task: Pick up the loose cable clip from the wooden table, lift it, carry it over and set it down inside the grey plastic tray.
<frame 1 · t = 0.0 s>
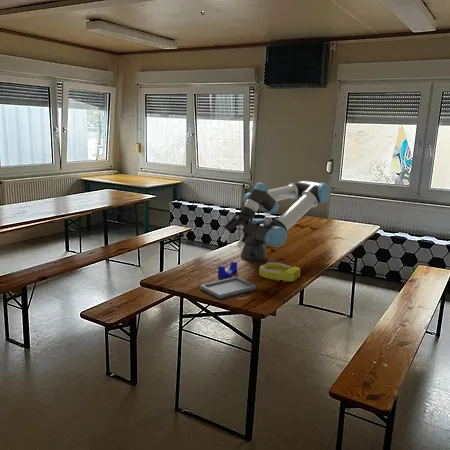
hand: (230, 244, 237), 15 cm above the table, tool tilted 35°, fingers open, 13 cm apart
cable clip: (228, 275, 236), on the table
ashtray: (278, 276, 238), on the table
tray: (228, 289, 216), on the table
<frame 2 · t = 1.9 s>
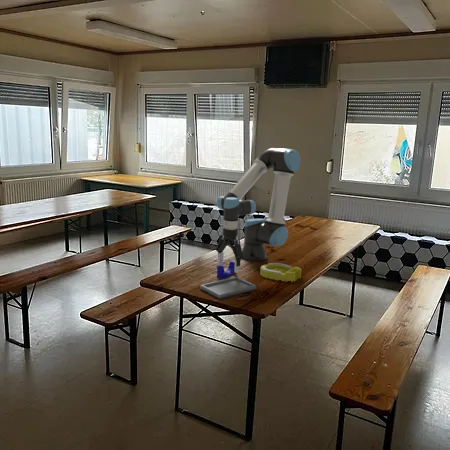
hand: (228, 268, 234), 4 cm above the table, tool pointing down, fingers open, 13 cm apart
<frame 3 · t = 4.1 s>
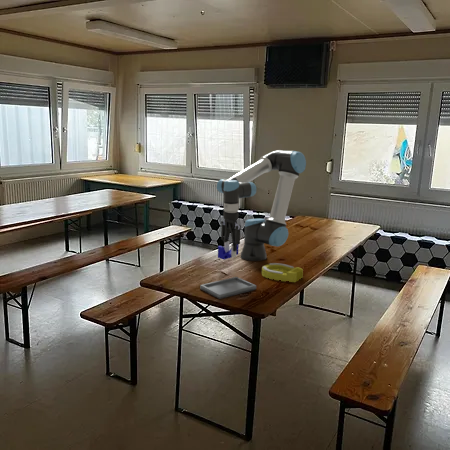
hand: (230, 255, 234), 10 cm above the table, tool pointing down, fingers closed on cable clip, 5 cm apart
cable clip: (229, 256, 233), point 10 cm above the table, touching gripper
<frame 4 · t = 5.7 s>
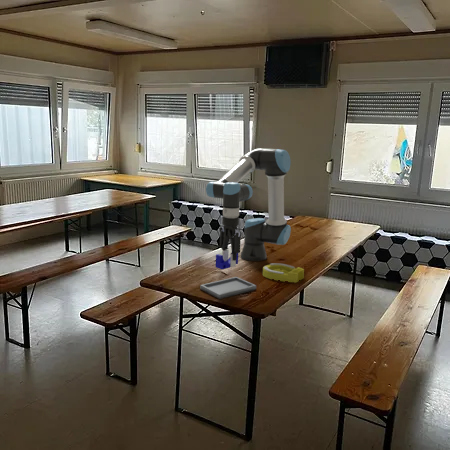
hand: (229, 265, 213), 12 cm above the table, tool pointing down, fingers closed on cable clip, 5 cm apart
cable clip: (228, 266, 212), point 12 cm above the table, touching gripper
when the fingers open (1 cm above the table, at t = 7.8 s): cable clip stays where it is, resting on tray.
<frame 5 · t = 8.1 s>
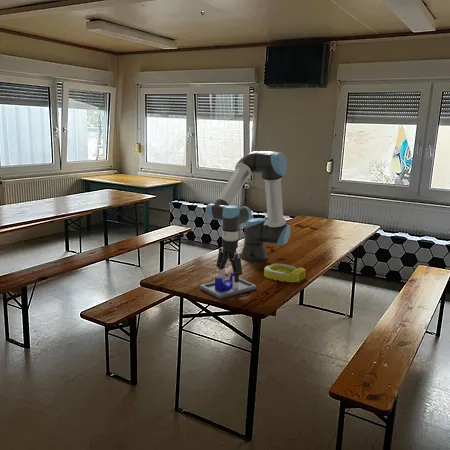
hand: (228, 285, 215), 2 cm above the table, tool pointing down, fingers open, 9 cm apart
cable clip: (227, 288, 215), point 1 cm above the table, touching tray
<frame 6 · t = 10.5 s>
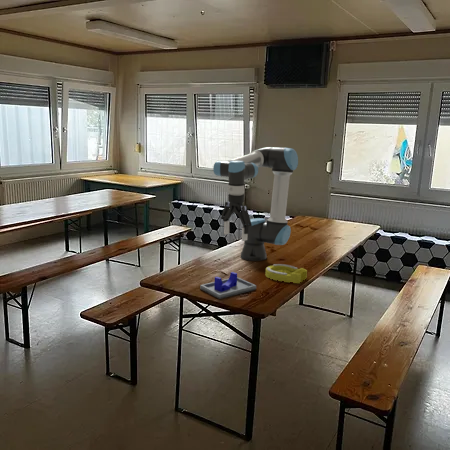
hand: (235, 237, 220), 23 cm above the table, tool pointing down, fingers open, 13 cm apart
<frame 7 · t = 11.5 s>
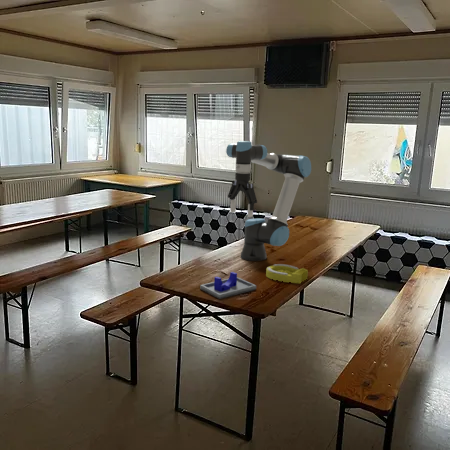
hand: (241, 214, 232), 32 cm above the table, tool pointing down, fingers open, 13 cm apart
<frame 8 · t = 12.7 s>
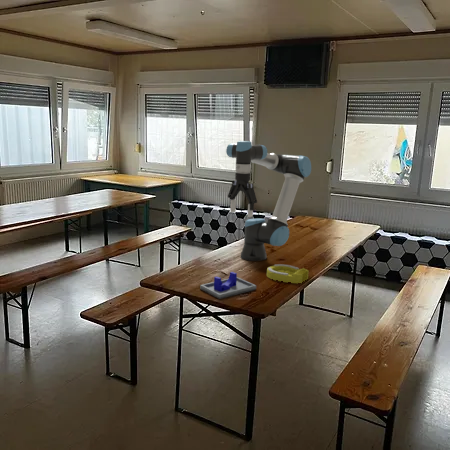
hand: (241, 214, 232), 32 cm above the table, tool pointing down, fingers open, 13 cm apart
at the end: cable clip inside the target area on the tray (0.9 cm from its centre), point 0.6 cm above the tray's base; the gripper is holding nothing; cable clip moved 20.8 cm from its start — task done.
